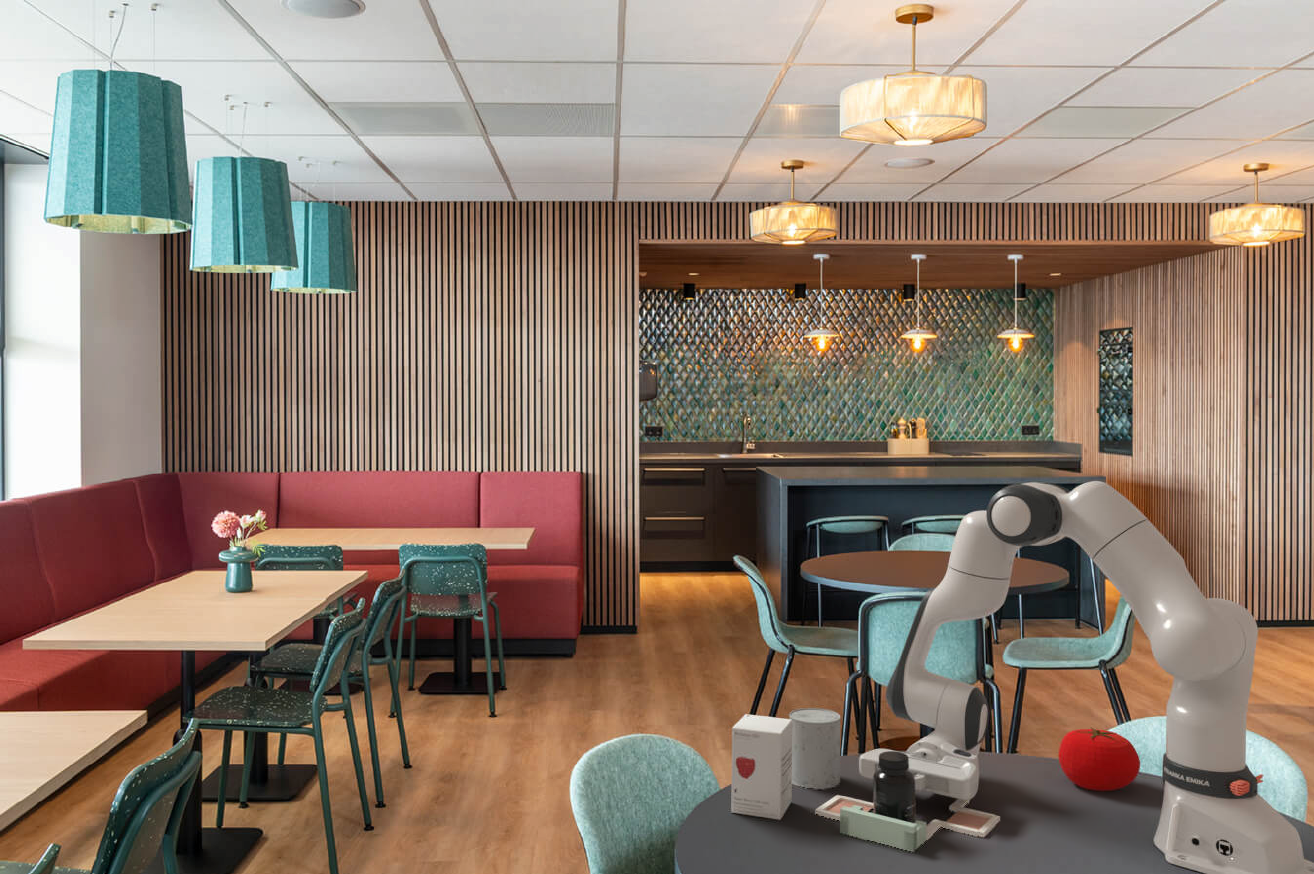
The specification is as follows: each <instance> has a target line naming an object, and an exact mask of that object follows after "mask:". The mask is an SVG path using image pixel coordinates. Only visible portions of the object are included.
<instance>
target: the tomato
mask: <svg viewBox="0 0 1314 874" xmlns="http://www.w3.org/2000/svg"><path fill="white" fill-rule="evenodd" d="M1058 760H1059V761H1058V762H1059V766H1060V768H1061V769H1062V771H1063V774H1064V775H1065V776H1066V778H1067V779H1068V780H1069V781H1071V783H1074V784H1075V785H1077V786H1078V787H1081V788H1083V789H1085V790H1092V791H1098V792H1100V791H1101V792H1105V791H1106V792H1108V791H1109V792H1110V791H1117V790H1118V789H1123V788H1125V787H1126V786H1128V785H1129V784H1131V783H1132V782H1133V781H1134V780H1135V779H1136V778H1137V777H1138V774H1139V772H1140V769H1141V768H1140V767H1141V760H1140V757H1139V754H1138V752H1137V750H1136V748H1135V746H1134V744H1132V743H1131V742H1130V740H1129V739H1127V738H1126V737H1124V736H1123V735H1121V734H1118V733H1117V732H1114V731H1111V730H1107V729H1095V728H1093V727H1090V728H1080V729H1073V730H1071V731H1069V732H1067V733H1066V734H1065V735H1064V736H1063V738H1062V740H1061V742H1060V745H1059V749H1058Z"/></svg>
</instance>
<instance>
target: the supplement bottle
mask: <svg viewBox="0 0 1314 874" xmlns="http://www.w3.org/2000/svg"><path fill="white" fill-rule="evenodd" d="M896 751H897V750H894V751H887V752H883V753H881V754H880V755H879V763H878V766H879V769H878V770H877V771H876V772H875V773H874V775H873V779H872V795H873V802H872V803H874V810H873V813H874V814H878V815H882V816H886V817H890V818H894V819H898V820H902V821H906V822H910V823H915V822H916V821H917V820H916V819H917V818H916V817H917V815H916V813H917V812H916V806H917V805H916V790H915V777H914V775H913V774H912V773H911V772H910V771H909V770H908V769H909V758H908V756H907V755H906V754H904V753H905V752H903V753H901V752H902V751H898V752H896Z"/></svg>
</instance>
